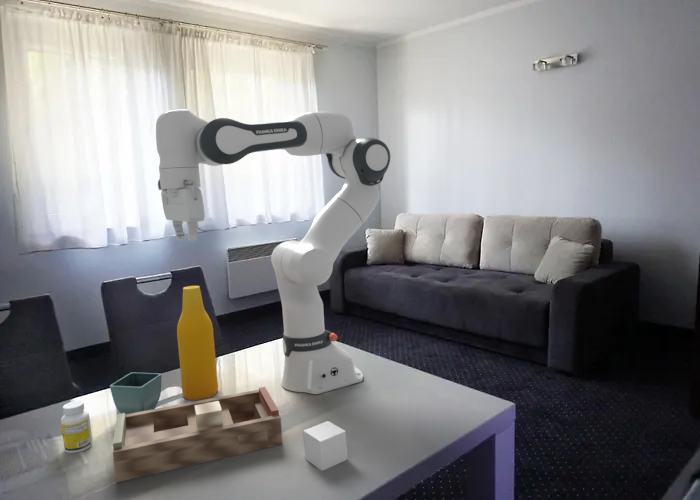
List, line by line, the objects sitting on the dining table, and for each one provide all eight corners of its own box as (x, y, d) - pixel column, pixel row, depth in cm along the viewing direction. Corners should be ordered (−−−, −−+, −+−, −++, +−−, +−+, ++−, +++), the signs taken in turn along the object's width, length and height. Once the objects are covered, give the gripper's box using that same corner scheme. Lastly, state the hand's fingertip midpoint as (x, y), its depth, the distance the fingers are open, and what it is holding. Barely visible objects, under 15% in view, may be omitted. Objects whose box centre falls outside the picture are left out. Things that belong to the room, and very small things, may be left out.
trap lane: (265, 412, 123) (263, 384, 122) (282, 444, 107) (280, 412, 106) (121, 441, 112) (117, 411, 111) (116, 482, 96) (112, 447, 95)
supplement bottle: (71, 442, 112) (66, 400, 111) (96, 440, 113) (92, 398, 112) (59, 455, 107) (54, 410, 106) (86, 452, 107) (81, 408, 106)
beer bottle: (206, 402, 130) (196, 291, 127) (175, 399, 133) (164, 290, 129) (225, 388, 139) (216, 284, 135) (195, 385, 142) (186, 283, 138)
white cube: (305, 459, 101) (303, 430, 100) (329, 448, 105) (327, 420, 104) (322, 471, 96) (320, 441, 96) (347, 459, 100) (345, 430, 99)
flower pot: (145, 423, 120) (141, 386, 119) (112, 421, 122) (108, 385, 121) (165, 407, 129) (162, 373, 127) (134, 405, 130) (131, 372, 129)
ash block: (220, 422, 109) (218, 400, 109) (223, 433, 105) (221, 409, 104) (196, 427, 108) (194, 405, 107) (198, 438, 103) (196, 414, 102)
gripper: (208, 178, 112) (214, 241, 114) (181, 182, 129) (186, 236, 131) (179, 180, 109) (186, 244, 110) (155, 183, 125) (161, 238, 127)
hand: (186, 239), depth 121 cm, fingers open, 8 cm apart
